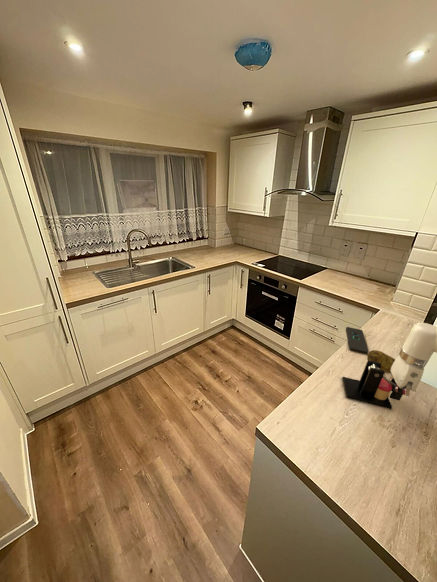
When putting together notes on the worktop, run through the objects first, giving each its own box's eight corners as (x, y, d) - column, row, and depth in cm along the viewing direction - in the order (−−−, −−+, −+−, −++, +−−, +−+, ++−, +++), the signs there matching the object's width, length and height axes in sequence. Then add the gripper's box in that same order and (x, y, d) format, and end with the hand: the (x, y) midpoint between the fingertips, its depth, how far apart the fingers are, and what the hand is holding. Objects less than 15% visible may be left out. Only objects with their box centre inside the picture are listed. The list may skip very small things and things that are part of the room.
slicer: (382, 388, 94) (395, 361, 88) (391, 409, 85) (405, 381, 79) (341, 378, 98) (351, 352, 92) (345, 397, 89) (356, 370, 83)
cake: (384, 390, 91) (389, 379, 89) (389, 402, 86) (394, 391, 84) (368, 386, 93) (372, 376, 90) (371, 397, 88) (376, 387, 85)
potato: (399, 379, 98) (406, 364, 95) (364, 369, 103) (370, 355, 100) (395, 366, 105) (401, 352, 102) (363, 357, 110) (368, 343, 106)
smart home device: (362, 329, 128) (369, 351, 111) (361, 332, 129) (368, 354, 112) (346, 326, 131) (349, 347, 114) (345, 328, 131) (348, 350, 114)
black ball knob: (395, 389, 88) (403, 385, 87) (398, 396, 86) (406, 392, 84) (366, 366, 88) (374, 362, 87) (368, 372, 85) (376, 368, 84)
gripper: (438, 377, 72) (412, 416, 80) (415, 345, 86) (395, 381, 94) (410, 370, 74) (388, 409, 82) (392, 340, 88) (375, 376, 96)
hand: (392, 394), depth 88 cm, fingers closed on black ball knob, 3 cm apart
